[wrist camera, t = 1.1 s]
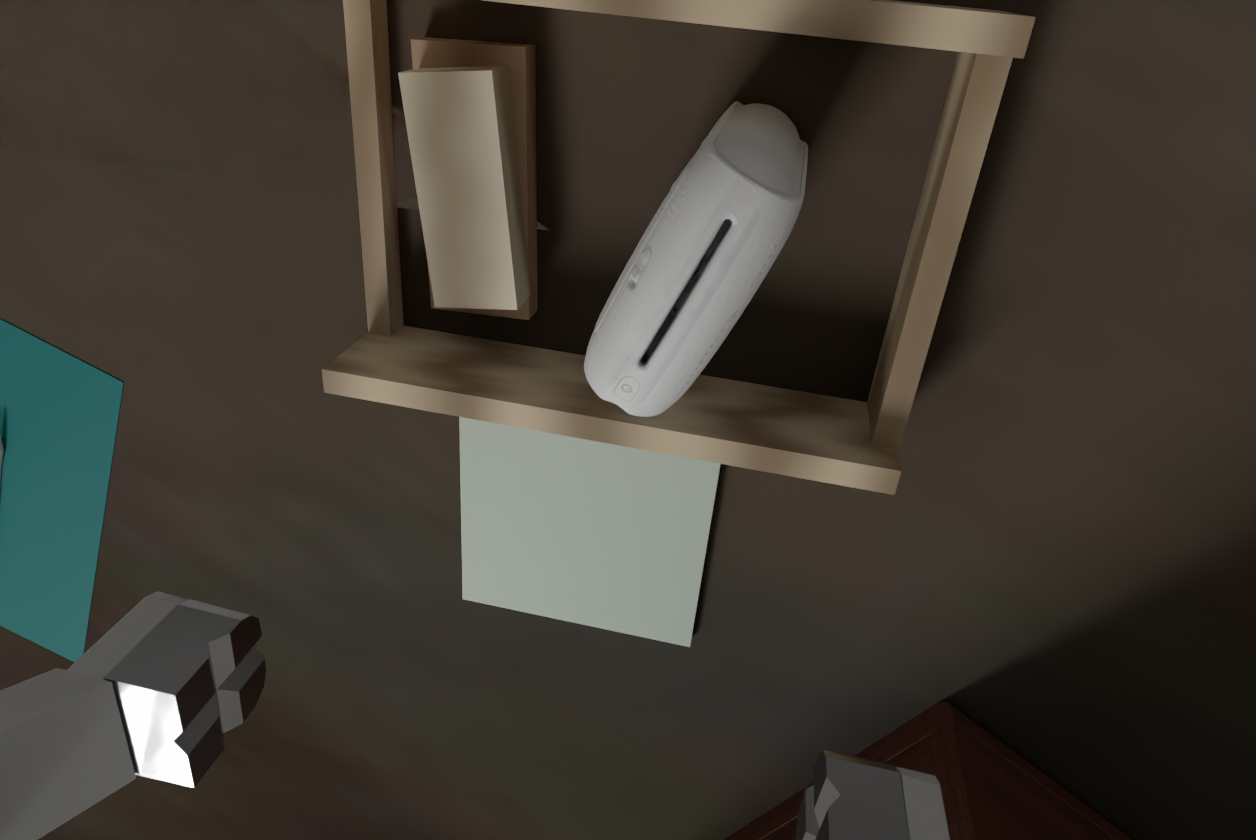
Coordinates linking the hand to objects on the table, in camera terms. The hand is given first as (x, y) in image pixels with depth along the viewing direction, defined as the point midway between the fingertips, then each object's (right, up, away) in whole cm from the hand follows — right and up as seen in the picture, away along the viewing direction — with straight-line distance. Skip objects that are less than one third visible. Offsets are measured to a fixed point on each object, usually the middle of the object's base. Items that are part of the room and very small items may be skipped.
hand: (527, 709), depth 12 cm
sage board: (-1, -2, +34) cm, 34 cm away
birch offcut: (-5, +14, +25) cm, 30 cm away
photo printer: (+5, +13, +25) cm, 29 cm away
